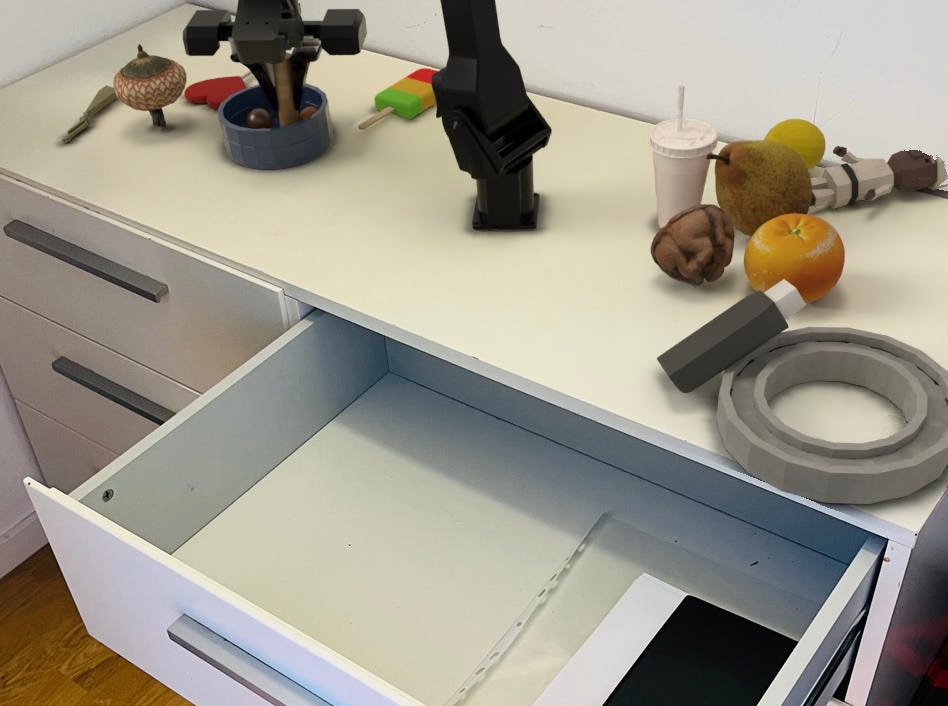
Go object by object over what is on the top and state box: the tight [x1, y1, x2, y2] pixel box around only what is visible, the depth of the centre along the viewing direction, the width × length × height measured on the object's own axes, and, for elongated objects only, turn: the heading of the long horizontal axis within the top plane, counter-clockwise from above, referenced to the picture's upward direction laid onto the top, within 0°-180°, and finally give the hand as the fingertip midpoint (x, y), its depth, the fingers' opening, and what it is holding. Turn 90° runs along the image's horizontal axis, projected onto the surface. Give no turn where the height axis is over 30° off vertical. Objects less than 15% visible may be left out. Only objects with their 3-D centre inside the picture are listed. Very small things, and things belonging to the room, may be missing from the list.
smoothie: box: [648, 84, 719, 230], centre depth 111 cm, size 6×6×14 cm
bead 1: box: [247, 108, 273, 129], centre depth 133 cm, size 3×3×3 cm
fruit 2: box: [706, 139, 812, 238], centre depth 110 cm, size 9×9×12 cm
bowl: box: [216, 83, 334, 170], centre depth 132 cm, size 12×12×4 cm
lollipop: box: [183, 70, 253, 110], centre depth 145 cm, size 8×1×15 cm
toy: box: [810, 145, 948, 210], centre depth 116 cm, size 8×5×15 cm
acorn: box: [112, 43, 187, 130], centre depth 134 cm, size 8×8×10 cm
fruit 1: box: [763, 118, 826, 171], centre depth 120 cm, size 6×6×8 cm
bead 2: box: [299, 106, 319, 122], centre depth 132 cm, size 3×3×3 cm
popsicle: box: [357, 67, 439, 131], centre depth 137 cm, size 6×15×2 cm, turn 144°
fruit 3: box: [743, 213, 846, 304], centre depth 104 cm, size 8×8×8 cm
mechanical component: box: [715, 326, 948, 505], centre depth 92 cm, size 18×18×3 cm
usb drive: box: [656, 279, 807, 394], centre depth 95 cm, size 5×12×3 cm
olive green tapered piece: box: [61, 85, 118, 144], centre depth 140 cm, size 12×3×1 cm, turn 156°
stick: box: [272, 51, 300, 127], centre depth 129 cm, size 2×2×9 cm
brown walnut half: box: [650, 203, 736, 287], centre depth 106 cm, size 8×8×5 cm
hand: (287, 109), depth 130 cm, fingers closed on stick, 2 cm apart
